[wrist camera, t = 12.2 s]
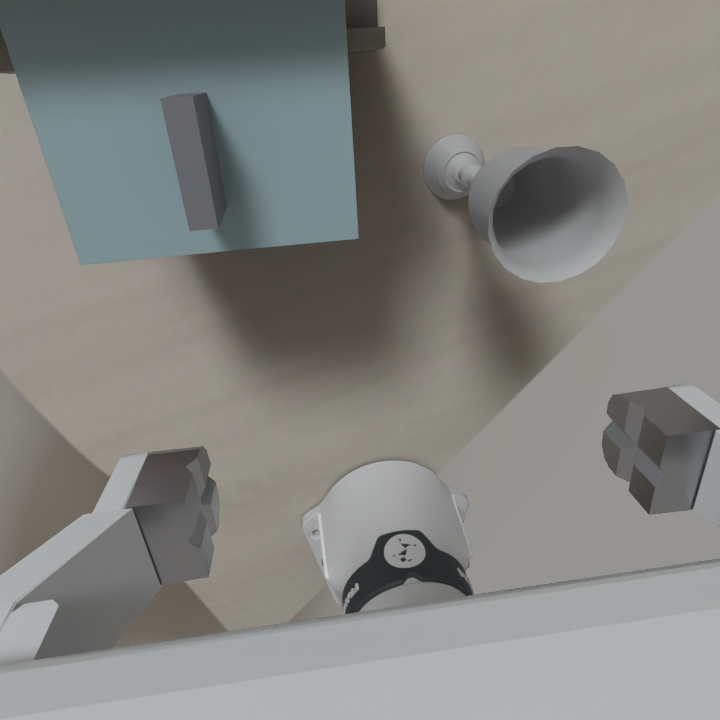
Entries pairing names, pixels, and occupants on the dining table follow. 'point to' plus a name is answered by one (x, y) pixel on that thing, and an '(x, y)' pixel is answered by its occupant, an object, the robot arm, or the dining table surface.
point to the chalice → (534, 203)
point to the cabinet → (189, 121)
